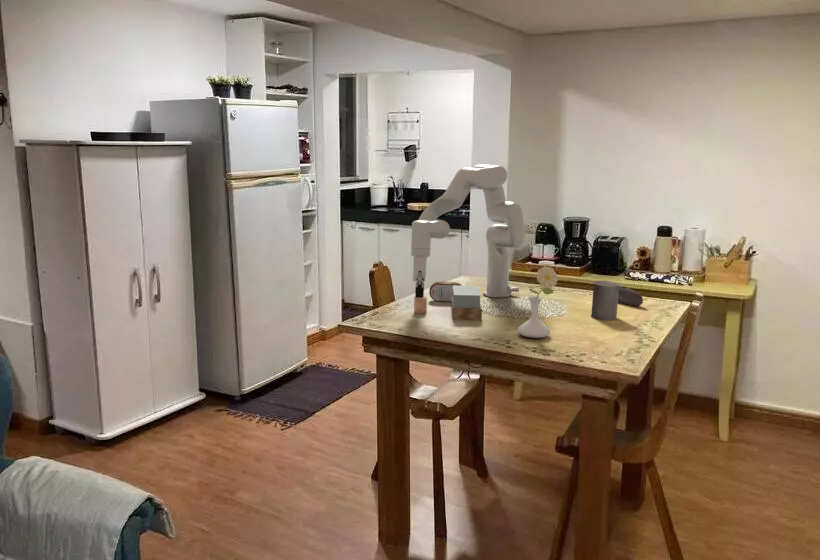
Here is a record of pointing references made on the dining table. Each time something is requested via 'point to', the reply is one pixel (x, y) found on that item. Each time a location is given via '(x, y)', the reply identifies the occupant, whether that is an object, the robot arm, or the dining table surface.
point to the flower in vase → (534, 325)
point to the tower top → (465, 297)
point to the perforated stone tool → (629, 296)
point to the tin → (442, 291)
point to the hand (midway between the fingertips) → (419, 294)
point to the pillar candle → (605, 300)
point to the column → (420, 305)
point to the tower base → (466, 313)
